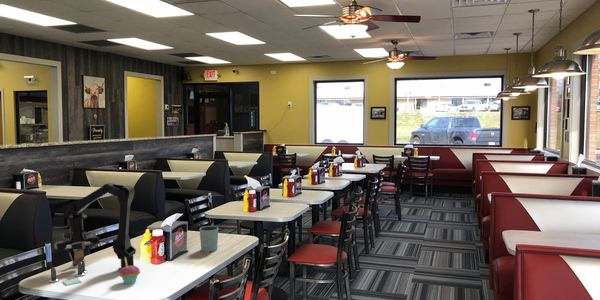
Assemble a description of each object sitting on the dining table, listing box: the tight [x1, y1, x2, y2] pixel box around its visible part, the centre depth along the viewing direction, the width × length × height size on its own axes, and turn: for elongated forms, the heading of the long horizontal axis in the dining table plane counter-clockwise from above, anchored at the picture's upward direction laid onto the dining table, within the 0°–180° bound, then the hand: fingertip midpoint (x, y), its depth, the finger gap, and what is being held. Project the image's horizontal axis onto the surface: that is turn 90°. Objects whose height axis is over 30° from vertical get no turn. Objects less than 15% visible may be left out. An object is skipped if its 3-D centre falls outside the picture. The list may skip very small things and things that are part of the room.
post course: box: [48, 258, 88, 284], centre depth 216 cm, size 19×17×6 cm
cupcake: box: [118, 258, 141, 285], centre depth 203 cm, size 9×8×12 cm
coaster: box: [62, 277, 82, 286], centre depth 205 cm, size 6×6×1 cm
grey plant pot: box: [199, 225, 219, 253], centre depth 251 cm, size 10×10×12 cm
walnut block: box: [71, 248, 85, 265], centre depth 221 cm, size 4×4×6 cm
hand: (78, 260), depth 221 cm, fingers closed on walnut block, 4 cm apart
